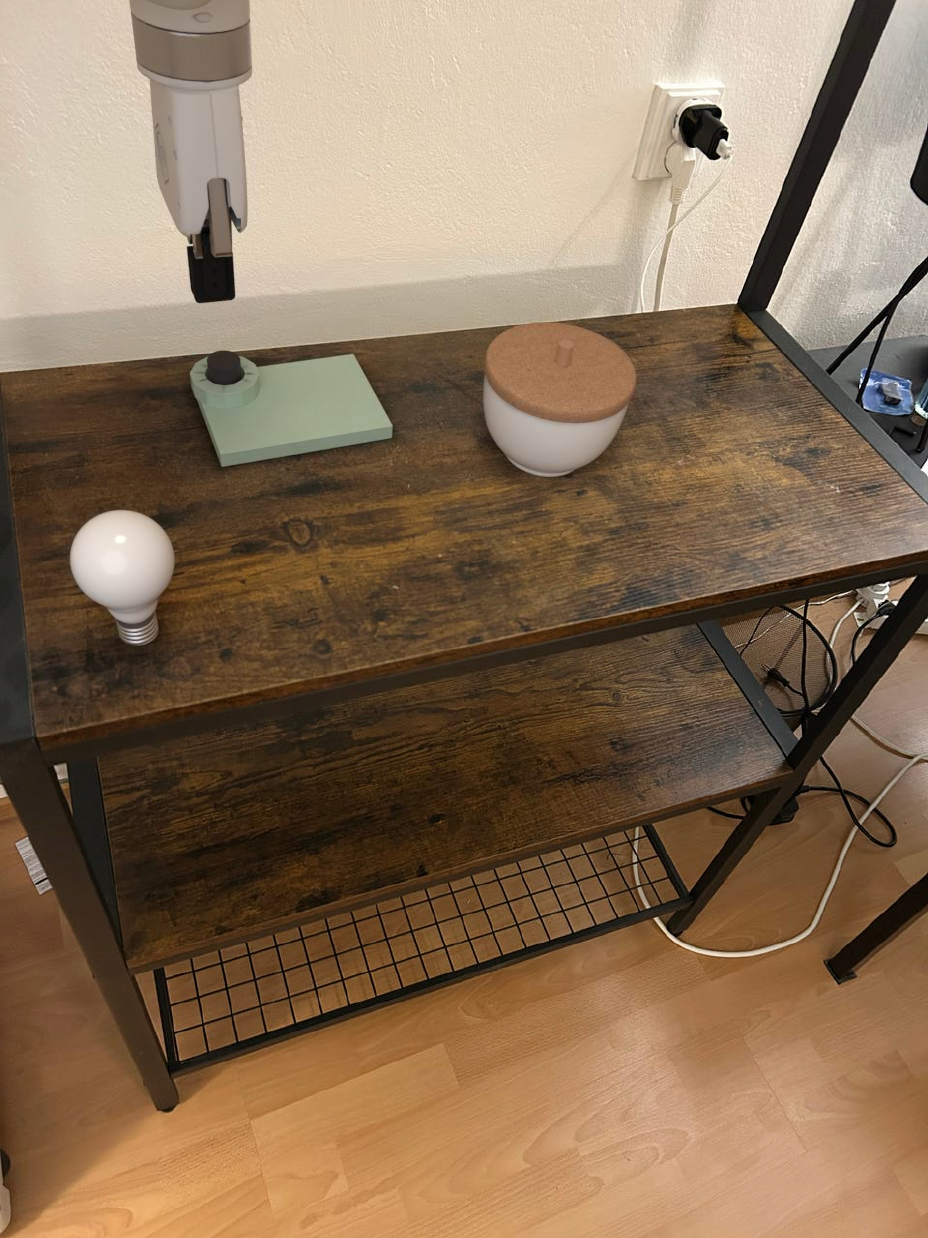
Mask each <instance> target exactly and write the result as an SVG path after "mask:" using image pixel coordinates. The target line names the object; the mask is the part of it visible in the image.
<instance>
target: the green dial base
mask: <svg viewBox="0 0 928 1238" xmlns="http://www.w3.org/2000/svg"><path fill="white" fill-rule="evenodd" d="M238 356H239V357H240V361H241V375H242V378H241V380H240V381H239V382H237V383H235V384H231V385H219V384H214V383H212V382H211V381H210V380H209V376H208V367H207V358H208V356H205V357H204V358H202V359H200V360H198V361H196V362H195V363H194V365H193V367H192V369H191V370H190V372H189V377H190V385H191V390H192V393H193V395H194V398H195V399H196V401H197V404H198V406H199V409H200V412H201V414H202V417H203V420H204V422H205V426H206V428H207V431H208V434H209V437H210V439H211V441H212V444H213V447H214V450H215V452H216V455H217V459H218V461H219V463H220V467H222V468H224V467H229V466H235V465H241V464H248V463H253V462H259V461H265V460H271V459H277V458H283V457H288V456H294V455H295V456H296V455H300V454H306V453H312V452H317V451H318V452H319V451H324V450H330V449H336V448H341V447H348V446H352V445H360V444H366V443H372V442H377V441H384V440H388V439H392V438H393V429H394V427H393V426H394V425H393V424H392V422H391V420H390V418H389V416H388V414H387V413H386V411H385V409H384V407H383V406H382V403H381V402H380V400H379V398H378V396H377V394H376V393H375V391H374V389H373V387H372V385H371V384H370V381H369V380H368V377H367V376H366V374H365V373H364V371H363V369H362V367H361V365H360V363H359V361H358V359H357V358H356V356H355V354H354V353H350V354H343V355H342V354H341V355H335V356H328V357H321V358H314V359H305V360H299V361H292V362H285V363H277V364H269V365H262V366H257V365H256V364H255V362H252V361H251V360H249V359H248V358H246V357H245V356H241V355H238Z"/></svg>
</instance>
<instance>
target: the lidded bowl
mask: <svg viewBox="0 0 928 1238" xmlns="http://www.w3.org/2000/svg"><path fill="white" fill-rule="evenodd" d="M483 368H484V375H483V385H482V408H483V415H484V421H485V424H486V427H487V430H488V432H489V434H490V437H491V438H492V440H493V442H494V443H495V445H496V446H497V448H499V449H500V451H501V452H502V453H503V454H504V455H505V456H506V457H505V458H507V459H508V461H509V462H510V463H511V464H512V465H513V466H515V467H516V468H518V469H520V470H521V471H523V472H525V473H527V474H530V475H534V476H538V477H546V478H554V477H555V478H556V477H562V476H565V475H569V474H571V473H572V472H575V470H578V469H581V468H582V467H584V466H587V465H588V464H590V463H592V462H593V461H595V459H597V458H598V457H600V456H601V455H602V454H603V453H604V452H605V450H607V448H608V447H609V446H610V445H611V444H612V442H613V440H614V439H615V437H616V435H617V434H618V432H619V430H620V427H621V426H622V424H623V421H624V419H625V416H626V413H627V411H628V409H629V408H628V407H629V403H630V402H631V400H632V398H633V396H634V394H635V390H636V385H637V381H638V379H637V372H636V369H635V365H634V364H633V362H632V360H631V358H630V357H629V356H628V354H627V353H626V352H625V351H624V350H623V349H622V348H621V347H620V346H619V345H617V344H616V343H614V341H612V340H610V339H609V338H607V337H605V336H603V335H602V334H600V333H597V332H595V331H592V330H589V329H587V328H585V327H584V328H583V327H581V326H577V325H573V324H569V323H568V324H567V323H561V322H550V321H540V322H539V321H538V322H537V321H536V322H530V323H525V324H524V323H523V324H519V325H515V326H513V327H511V328H508V329H506V330H504V331H502V332H501V333H500V334H498V335H497V336H496V337H495V338H493V340H491V342H490V343H489V345H488V346H487V349H486V353H485V358H484V367H483Z"/></svg>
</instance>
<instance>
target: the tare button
mask: <svg viewBox="0 0 928 1238" xmlns="http://www.w3.org/2000/svg"><path fill="white" fill-rule="evenodd" d="M239 356H240V355H238V353H236V352H234V351H232V350H225V349H221V350H217V351H214V352H211V353H210V354H208V356H207V357H208V358H207V367H208V376H209V380H210V381H211V382H212V383H214V384H219V385H231V384H235V383H237V382H239V381H240V380H241V378H242V375H241V361H240V357H239Z"/></svg>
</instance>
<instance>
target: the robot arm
mask: <svg viewBox="0 0 928 1238" xmlns="http://www.w3.org/2000/svg"><path fill="white" fill-rule="evenodd" d="M128 2H129V8H130V17H131V18H130V19H131V25H132V34H133V41H134V50H135V60H136V67H137V70H138V71H139V73H140V74H141V75H142V76H144V77H146V78H147V79H148V80H149V86H150V87H149V91H150V104H151V105H150V106H151V107H150V108H151V118H152V128H153V129H152V131H153V144H154V156H155V157H154V159H155V171H156V172H155V173H156V178H157V183H158V188H159V190H160V192H161V195H162V199H163V201H164V203H165V205H166V207H167V209H168V212H169V214H170V217H171V219H172V221H173V223H174V226H175V228H176V229H177V231H178V232H179V233H180V234H181V235H182V236H184V237H186V240H187V242H188V245H187V246H186V254H187V266H188V274H189V284H190V286H189V287H190V292H191V293H192V295H193V298H194V301H195V302H196V303H197V304H209V303H218V302H228V301H233V300H234V299H235V298H236V282H235V281H236V280H235V265H234V252H233V227H232V225H234V228H235V229H236V231H237V233H239V234H241V233H242V232H244V231H245V229H246V228H247V226H248V211H249V210H248V209H249V208H248V183H247V167H246V152H245V139H244V138H245V137H244V127H243V121H244V118H243V115H242V106H241V105H242V104H241V96H240V85H242V84H244V83H246V82H248V80H250V78H251V77H252V75H253V55H252V31H251V29H252V28H251V27H252V26H251V7H250V5H251V4H250V3H251V2H250V0H128ZM232 223H233V224H232Z"/></svg>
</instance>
